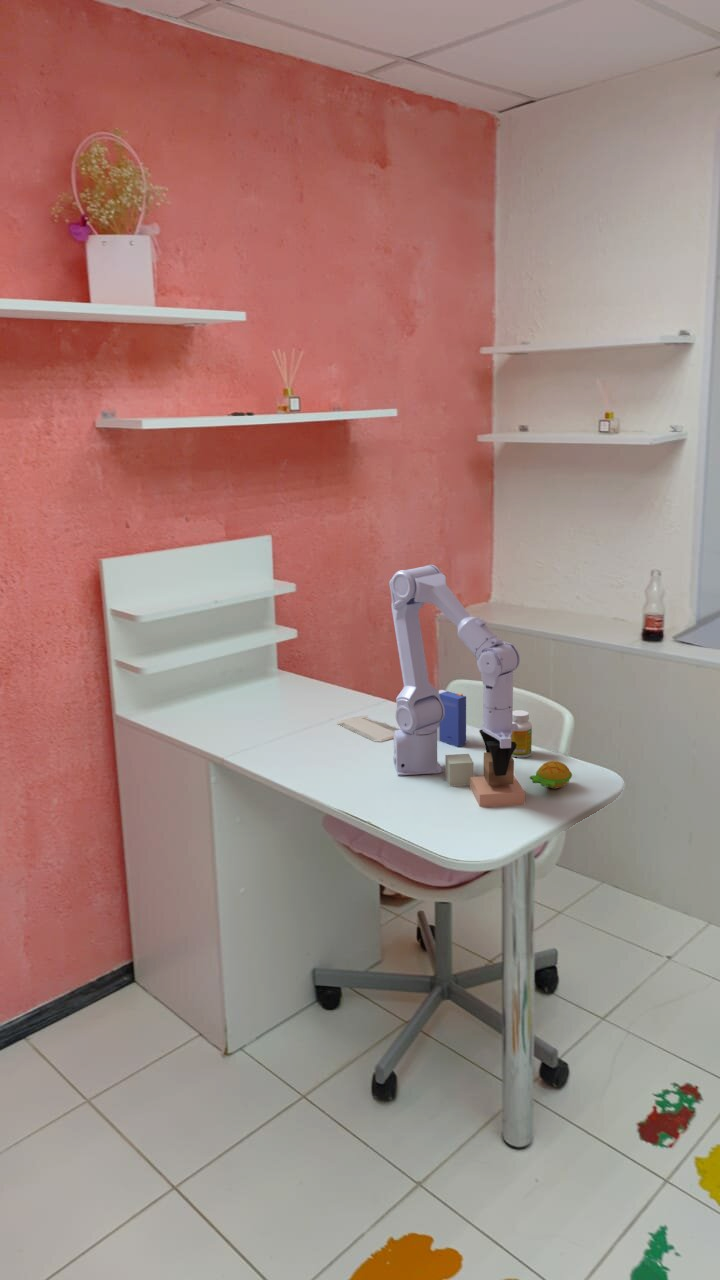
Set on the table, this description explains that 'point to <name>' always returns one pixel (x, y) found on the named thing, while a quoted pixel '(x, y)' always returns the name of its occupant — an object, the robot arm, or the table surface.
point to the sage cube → (459, 769)
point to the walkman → (453, 719)
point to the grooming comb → (369, 728)
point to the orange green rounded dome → (552, 774)
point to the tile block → (496, 793)
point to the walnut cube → (490, 775)
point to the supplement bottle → (522, 734)
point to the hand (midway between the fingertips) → (497, 769)
